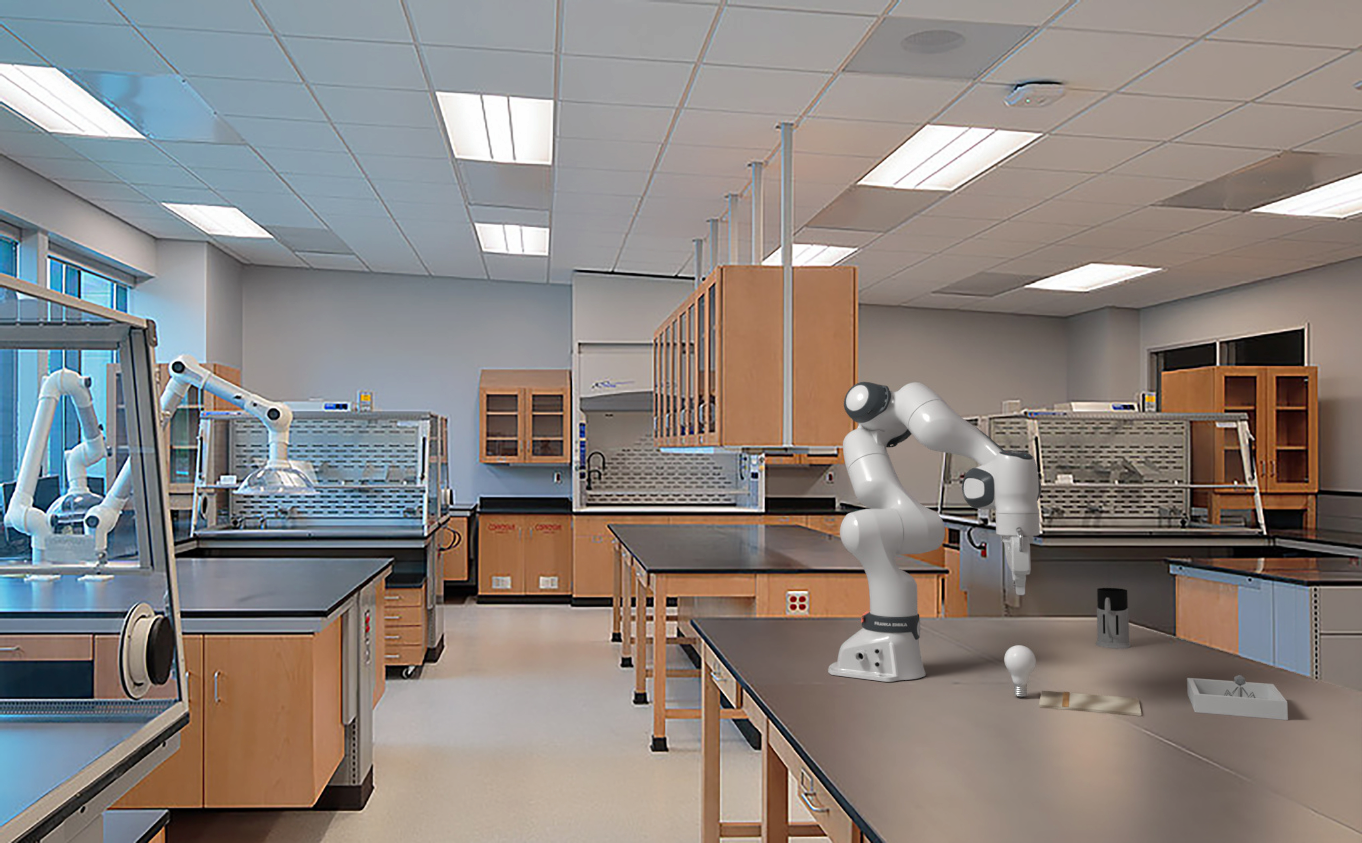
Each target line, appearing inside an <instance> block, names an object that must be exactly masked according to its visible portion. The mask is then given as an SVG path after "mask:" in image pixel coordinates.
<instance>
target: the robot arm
mask: <svg viewBox="0 0 1362 843" xmlns="http://www.w3.org/2000/svg"><path fill="white" fill-rule="evenodd" d="M843 407H844V412H845V413H846V414H847V416H848V417H849V418H850V419H851V420H852V421H854V422H855V423H857V424H858V426H857V428H856V429H853V430H851V431H850V432H848V433H847V434H846V435H845V437H844V439H843V441H842V452H843V458H844V459H843V460H844V463H845V468H846V472H847V475H848V477H849V480H850V483H851V486H852V490H853V492H854V495H855V498H856V499H857V501H858V502H859V503H860V504H861V505H863V506H864V507H867V508H865V509H859V510H856V511H851V512H849V513H847V514H846V515H845V516H844V517H843V519H842V522H841V524H840V528H839V538H840V540H841V543H842V545H843V547H844V548H845V549H846V550H847V552H849V553H850V554H852V555H853V556H854V557H855V558H856V559H857V560H858V562H859V563H860V564H861V566H862V568H863V570H864V572H865V575H866V579H867V583H868V592H869V610H868V611H865V612H864V613H863V614H862V616H861V618H860V620H861V621H860V623H861V627H862V628H861V629H859V630H858V631H857V632H855V633H854V634H853V635H851V636H850V637H849V638H848V639H846V640H845V641H844V642H843V643H842V644H841V646H840V648H839V650H838V655H837V661H835V662H833V663H831V664H830V665H829V666H828V668H827V671H828V674H829V675H832V676H838V677H845V678H846V677H847V678H852V679H853V678H854V679H862V680H872V681H879V682H883V683H885V682H887V683H893V682H897V681H904V680H905V681H907V680H909V681H910V680H917V679H920V678H922V677H923V678H924V677H925V676H926V671H925V667H924V664H923V659H922V655H921V646H920V638H921V619H920V614H919V613H918V584H917V582H916V580H915V578H914V577H913V576H912V575H911V574H909V573H908V572H906V571H905V570H902V569H901V568H899V567H898V564H897V562H896V555H919V554H924V553H927V552H928V553H929V552H933V551H936V550H938V549H939V548H940V547H941V545H942V544H943V542H944V539H945V536H946V528H945V523H944V521H943V519H942V517H941V516H940V514H939V513H938V512H936V511H935V510H933V509H930V508H928V507H927V506H925V505H923V504H921V503H920V502H919V501H918V500H917V499H916V498H914V496H912V495H911V494H910V493H909V492H908V491H907V490H906V488H905V487H904V486H903V485H902V483H901V481H900V480H899V477H898V474H897V472H896V470H895V468H894V466H893V463H892V460H891V458H890V455H889V452H888V449H887V448H894V447H896V446H897V445H898V444H900V443H902V442H904V441H906V440H907V439H908V438H910V436H911V435H912V437H914V438H915V440H916V441H917V442H919V443H920V444H921V445H923V447H926V448H927V449H929V450H930V451H935V452H939V453H946V454H947V453H948V454H953V455H957V456H962V457H966V458H969V459H970V460H973V461H975V462H977V463H978V464H979V466H976V467H972V468H970V469H968V471H966V473H965V474H964V477H963V479H962V482H961V491H962V496H963V499H964V500H965V502H966V503H967V504H968V505H969V506H970V507H971V508H973V509H977V510H994V511H995V533H996V535H999V536H1001V537H1002V538H1001V539H1002V540H1001V541H1002V543H1003V545H1004V550H1005V558H1006V562H1007V563H1006V564H1007V565H1008V568H1009V570H1010V571H1011V576H1012V587H1013V589H1014V590H1015V593H1016V595H1017V596H1018V595H1019V596H1024V595H1025V594H1026V581H1027V576H1028V575H1030V574H1031V570H1032V568H1031V545H1030V544H1033V543H1034V536H1039V535H1041V533H1040V528H1041V527H1040V510H1039V506H1038V502H1039V499H1040V497H1041V495H1042V494H1041V493H1042V481H1041V479H1040V476H1039V473H1038V466H1037V463H1036V460H1035V457H1034V455H1032V454H1030V453H1028V452H1025V451H1019V450H1016V451H1015V450H1005V449H1003V448H1002V447H1001V445H999V444H998V443H997V442H996V441H994V440H993V439H992V438H991V437H990V436H988V435H987V434H986V433H985V432H984V431H983V430H980V429H979V428H978V427H976V426H975V425H973V424H972V423H970V422H969V421H968V420H966V419H965V418H964V417H962V416H961V415H960V414H959V413H957V411H955V410H954V409H953V408H952V407H951V406H950V405H949V404H948V403H947V402H946V401H945V400H944V399H943V398H942V397H941V396H940V395H939V394H938V393H937V392H936V391H934V390H933V389H932V388H930V387H929V386H927V385H925V384H924V383H922V382H919V381H917V382H915V381H913V382H909V383H906V384H904V386H902V387H901V388H900V389H898V390H897V391H892V390H890V388H889V386H887V385H883V384H878V383H875V382H874V383H873V382H871V381H870V382H868V381H861V382H857V383H854V385H852V386H851V387H850V388H849V389H848V391H847V392H846V394H845V396H844V400H843Z"/></svg>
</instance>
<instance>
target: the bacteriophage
mask: <svg viewBox="0 0 1362 843" xmlns="http://www.w3.org/2000/svg"><path fill="white" fill-rule="evenodd" d="M1233 681H1235V683H1236V684H1237V685H1239V687H1237V688H1238V697H1243V696H1242V693H1243V692H1242V688H1243V687H1242V688H1241V685H1244V684H1246V682H1247V681H1246V677H1244V676H1243V675H1241V674H1239V675H1236V676H1234V679H1233ZM1236 690H1237V689H1235V690H1234V691H1233V692H1235V691H1236ZM1243 690H1244V688H1243ZM1244 691H1245V690H1244ZM1226 692H1227V690H1226ZM1228 692H1229V691H1228ZM1228 692H1227V694H1229V693H1230V692H1229V693H1228ZM1233 692H1232V693H1233ZM1245 693H1246V694H1247V692H1246V691H1245ZM1252 693H1253V692H1252ZM1252 693H1251V694H1252ZM1225 694H1226V693H1225ZM1230 694H1231V693H1230ZM1230 694H1229V695H1230ZM1233 694H1234V693H1233ZM1251 694H1250V695H1251ZM1250 695H1249V696H1250ZM1224 696H1225V695H1224ZM1226 696H1227V695H1226ZM1230 696H1232V695H1230ZM1249 696H1248V697H1249ZM1252 696H1254V694H1253V695H1252ZM1252 696H1251V697H1252ZM1251 697H1250V698H1251ZM1254 698H1255V696H1254Z"/></svg>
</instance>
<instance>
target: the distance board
mask: <svg viewBox="0 0 1362 843" xmlns="http://www.w3.org/2000/svg"><path fill="white" fill-rule="evenodd" d="M1038 707H1039V708H1046V709H1057V710H1058V709H1059V710H1069V711H1078V712H1079V711H1080V712H1092V713H1101V714H1103V713H1105V714H1114V715H1116V714H1117V715H1125V716H1127V715H1128V716H1137V717H1138V716H1139V717H1141V716H1142V710H1141V705H1140V700H1139V698H1138V697H1124V696H1115V695H1102V694H1101V695H1100V694H1090V693H1089V694H1087V693H1076V692H1075V693H1074V692H1069V691H1063V692H1062V691H1052V690H1051V691H1049V690H1041V694H1040V698H1039V702H1038Z"/></svg>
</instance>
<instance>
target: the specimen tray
mask: <svg viewBox="0 0 1362 843" xmlns="http://www.w3.org/2000/svg"><path fill="white" fill-rule="evenodd" d="M1186 681H1187V682H1186V684H1187V687H1186V688H1187V691H1186V692H1187V697H1188V699H1189V701H1190V703H1191V706H1192V708H1193V711H1194V713H1197V714H1198V713H1199V714H1210V715H1225V716H1235V717H1245V718H1246V717H1248V718H1258V719H1260V718H1261V719H1273V720H1281V721H1282V720H1285V721H1288V720H1289V718H1288V717H1289V714H1288V701H1287V699H1286V698H1285V697H1284V696H1283V694H1282V693H1281V692H1280V691H1279V690H1278V688H1277V687H1276V686H1275V684H1274V683H1262V682H1250V681H1249V682H1248V681H1245V682H1246V684H1244V685H1241V688H1242V687H1243V688H1244V690H1245V691H1246V692H1247V694H1246V693H1245V691H1244V690H1243V688H1242V692H1243V693H1242V696H1243V697H1238V688H1237V687H1239V685H1237V684H1236V683H1235V680H1222V679H1208V678H1197V677H1195V678H1194V677H1187V678H1186ZM1235 689H1237V690H1236V691H1235V692H1233V691H1234V690H1235ZM1226 690H1227V692H1228V691H1229V692H1230V693H1231V694H1230V693H1229V692H1228V693H1229V694H1230V695H1232V696H1230V695H1229V694H1227V692H1226ZM1232 692H1233V693H1234V694H1233V693H1232ZM1252 692H1253V693H1252ZM1225 693H1226V694H1225ZM1251 693H1252V694H1251ZM1250 694H1251V695H1250ZM1253 694H1254V696H1255V698H1254V696H1252V695H1253ZM1224 695H1225V696H1224ZM1226 695H1227V696H1226ZM1249 695H1250V696H1249ZM1248 696H1249V697H1248ZM1251 696H1252V697H1251ZM1250 697H1251V698H1250Z"/></svg>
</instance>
